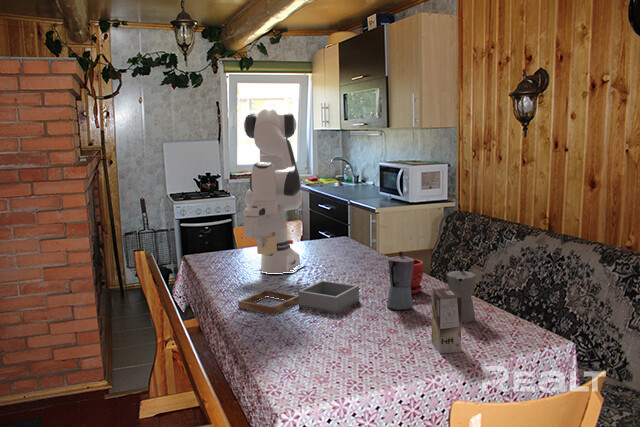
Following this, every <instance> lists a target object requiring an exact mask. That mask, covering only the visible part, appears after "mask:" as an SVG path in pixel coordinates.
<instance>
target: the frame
mask: <svg viewBox="0 0 640 427" xmlns="http://www.w3.org/2000/svg"><path fill="white" fill-rule="evenodd" d="M265 296H269V297H274V298H279V299H284V300H286V301H284V300H283V301H282V302H280V303H278V304H276V305H274V306H269V305H265V304H260V303H256V302H255V301H257V300H259V299H261V298H263V299H265V298H264V297H265ZM279 299H278V300H279ZM261 300H262V299H261ZM259 301H260V300H259ZM253 302H254V303H253ZM257 302H258V301H257ZM298 302H299V301H298V294H297V295H296V294H292V293H285V292H280V291H273V290H268V289H263V290H262V291H260V292H257V293H255V294H253V295H250V296H247V297H245V298H243V299H241V300H238V301H237V305H238V306H237V307H238V309H240V308H243V309H242V310H245V309H248V310H247V311H250V310H253V311H252V312H255V311H258V312H257V313H260V312H263V313H262V314H265V313H268V314H267V315H270V314H273V315H272V316H275V315H277V314H279V313H281V312H283V311H285V310H287V309H289V308H291V307H293V306H295V305H297V304H299V303H298ZM296 303H297V304H296ZM294 304H295V305H294ZM292 305H293V306H292ZM290 306H291V307H290ZM288 307H289V308H288ZM286 308H287V309H286ZM284 309H285V310H284ZM282 310H283V311H282ZM280 311H281V312H280ZM278 312H279V313H278ZM276 313H277V314H276ZM274 314H275V315H274Z"/></svg>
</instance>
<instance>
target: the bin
mask: <svg viewBox="0 0 640 427" xmlns="http://www.w3.org/2000/svg"><path fill="white" fill-rule="evenodd" d="M359 287H360V286H359V285H355V284H348V283H342V282H335V281H330V280H329V281H328V280H320V281H318V282H316V283H314V284H311V285H309V286H307V287H305V288H302V289H300V290H298V291H297V293H298V294H297V295H298V301H299V303H298V308H299V307H302V308H301V309H305V308H307V309H306V310H310V309H311V311H317V312H323V313H327V314H332V315H338V314H340V313H341V312H344V311H345V310H346V309H348V308H350V307H352V306H353V305H355V304H357V303H359V302H360V288H359Z"/></svg>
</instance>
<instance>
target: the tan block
mask: <svg viewBox="0 0 640 427" xmlns="http://www.w3.org/2000/svg"><path fill="white" fill-rule="evenodd" d="M262 242H264V247H263V248H259V247H258V243H257V242H256V248H257V254H258V255H262V254H264V255H270V254H273V253H276V252H277V240H276V236H272V235H262Z"/></svg>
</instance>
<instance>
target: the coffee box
mask: <svg viewBox="0 0 640 427" xmlns="http://www.w3.org/2000/svg"><path fill="white" fill-rule="evenodd" d="M461 299H462V298H461V297H460V296H459V295H458V294H457V293H456V292H455V291H454V290H452V289H449V288H439V289H431V343H432V345H433V346H434V347H435V349H436V350H437V351H438V353H439V354H449V353H450V354H452V353H461V350H462V323H461Z"/></svg>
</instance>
